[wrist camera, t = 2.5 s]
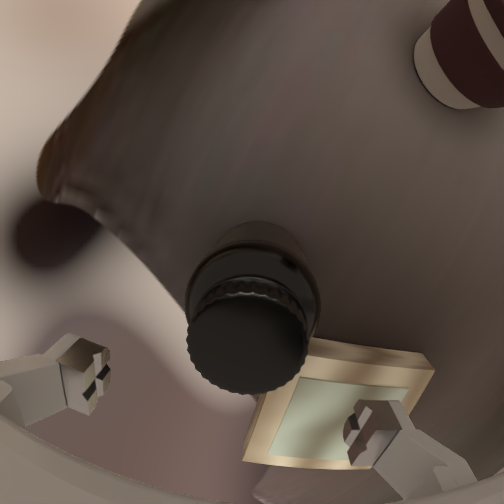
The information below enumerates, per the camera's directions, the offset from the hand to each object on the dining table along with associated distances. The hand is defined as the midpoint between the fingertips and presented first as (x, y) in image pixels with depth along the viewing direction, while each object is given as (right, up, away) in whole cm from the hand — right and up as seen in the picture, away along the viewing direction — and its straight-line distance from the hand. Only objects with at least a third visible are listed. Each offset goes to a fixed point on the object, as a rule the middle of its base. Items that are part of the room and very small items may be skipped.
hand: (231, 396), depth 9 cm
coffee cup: (+17, +20, +10) cm, 28 cm away
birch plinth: (+8, -10, +17) cm, 21 cm away
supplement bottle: (+1, +4, +14) cm, 15 cm away
